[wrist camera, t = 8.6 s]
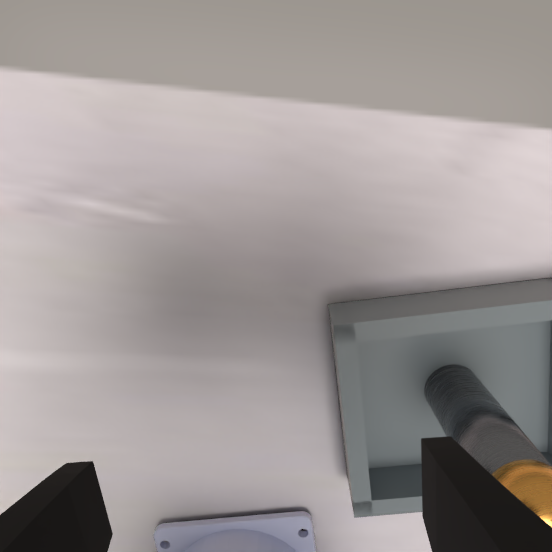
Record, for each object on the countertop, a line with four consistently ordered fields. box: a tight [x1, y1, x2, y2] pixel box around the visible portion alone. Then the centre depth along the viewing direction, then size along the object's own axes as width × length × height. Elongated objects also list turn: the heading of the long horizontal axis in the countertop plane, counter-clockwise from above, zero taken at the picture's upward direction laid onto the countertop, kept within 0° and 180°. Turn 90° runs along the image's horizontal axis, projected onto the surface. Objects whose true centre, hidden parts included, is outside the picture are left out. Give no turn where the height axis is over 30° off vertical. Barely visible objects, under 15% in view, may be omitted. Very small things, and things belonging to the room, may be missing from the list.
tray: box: [328, 278, 552, 518], centre depth 19 cm, size 9×10×2 cm
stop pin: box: [424, 364, 552, 527], centre depth 16 cm, size 3×3×8 cm
